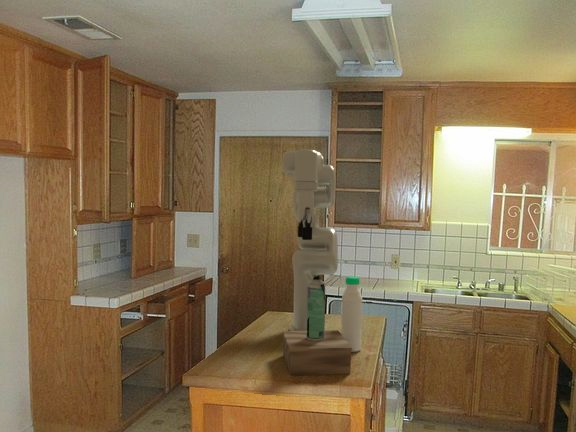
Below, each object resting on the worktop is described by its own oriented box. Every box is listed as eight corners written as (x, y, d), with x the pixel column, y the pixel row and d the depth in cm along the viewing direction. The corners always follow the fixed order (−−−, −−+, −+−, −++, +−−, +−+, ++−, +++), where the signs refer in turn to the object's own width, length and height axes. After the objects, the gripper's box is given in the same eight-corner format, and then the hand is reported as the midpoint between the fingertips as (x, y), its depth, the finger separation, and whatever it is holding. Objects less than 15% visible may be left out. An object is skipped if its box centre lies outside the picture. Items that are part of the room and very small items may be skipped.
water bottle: (356, 353, 169) (357, 279, 168) (337, 350, 173) (338, 277, 171) (364, 348, 175) (366, 276, 174) (346, 344, 179) (347, 274, 177)
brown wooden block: (282, 355, 166) (282, 331, 166) (337, 353, 168) (338, 330, 168) (289, 375, 148) (290, 348, 147) (351, 374, 150) (352, 347, 150)
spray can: (326, 337, 160) (327, 274, 159) (321, 342, 154) (322, 277, 154) (309, 335, 161) (310, 273, 160) (304, 340, 156) (305, 275, 155)
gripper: (291, 187, 176) (290, 236, 177) (298, 186, 159) (297, 240, 160) (312, 187, 177) (311, 236, 178) (321, 187, 160) (320, 241, 161)
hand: (304, 238), depth 169 cm, fingers open, 9 cm apart
